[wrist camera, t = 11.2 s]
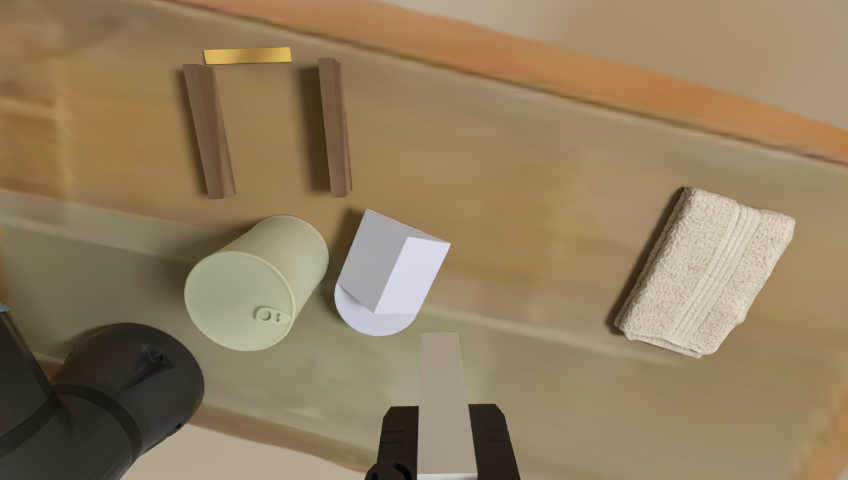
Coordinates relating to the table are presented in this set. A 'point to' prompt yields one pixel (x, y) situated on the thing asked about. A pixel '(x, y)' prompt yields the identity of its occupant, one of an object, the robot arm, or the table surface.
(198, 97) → the channel
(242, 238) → the can
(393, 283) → the wedge on round base
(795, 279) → the table surface
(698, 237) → the washcloth
